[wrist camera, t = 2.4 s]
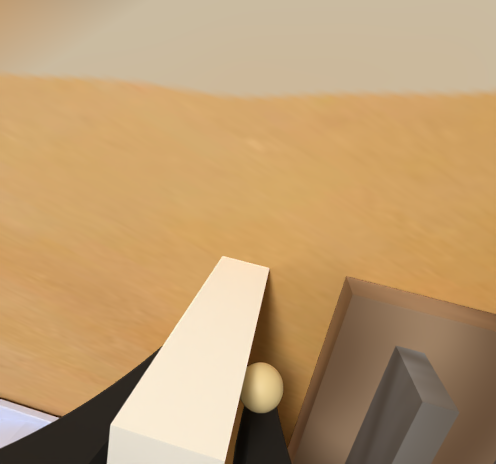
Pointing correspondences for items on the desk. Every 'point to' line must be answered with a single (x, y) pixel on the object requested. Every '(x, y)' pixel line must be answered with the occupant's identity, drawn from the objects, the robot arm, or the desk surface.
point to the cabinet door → (200, 377)
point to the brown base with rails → (400, 383)
